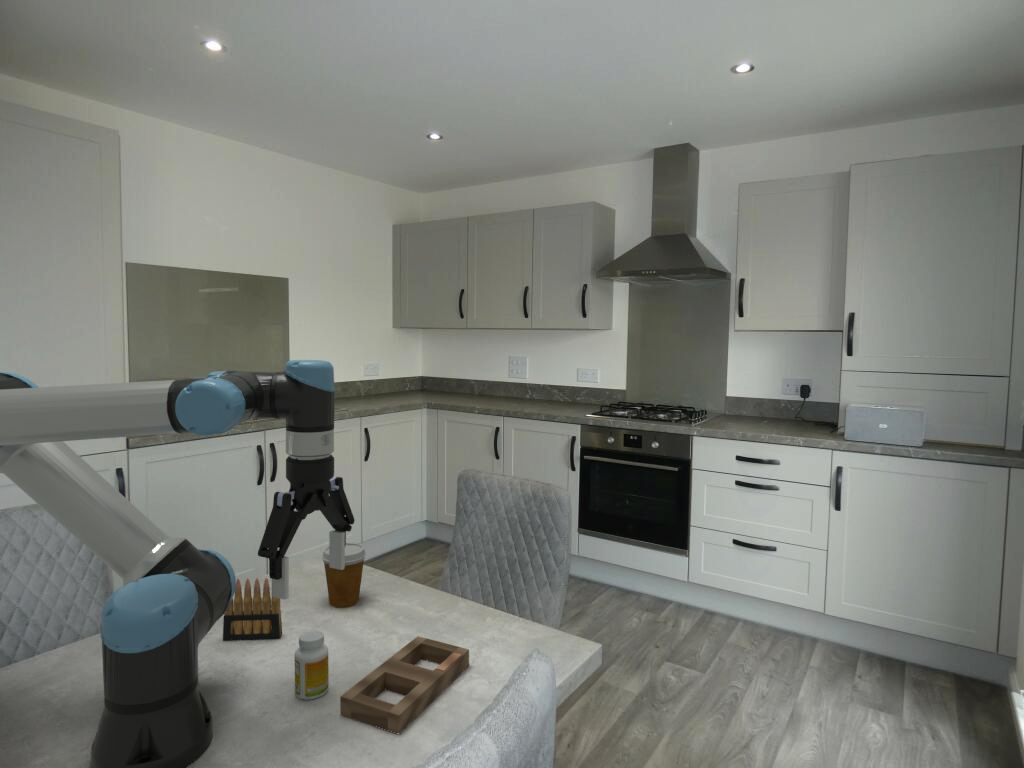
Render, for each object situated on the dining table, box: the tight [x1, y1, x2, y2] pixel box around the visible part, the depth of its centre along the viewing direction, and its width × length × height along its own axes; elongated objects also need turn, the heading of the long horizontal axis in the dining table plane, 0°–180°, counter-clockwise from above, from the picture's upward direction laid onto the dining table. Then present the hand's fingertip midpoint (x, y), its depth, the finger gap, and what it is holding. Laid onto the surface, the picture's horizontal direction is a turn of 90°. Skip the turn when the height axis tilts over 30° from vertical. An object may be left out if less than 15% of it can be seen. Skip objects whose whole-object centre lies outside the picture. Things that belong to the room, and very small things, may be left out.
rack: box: [339, 635, 470, 734], centre depth 106 cm, size 22×11×3 cm, turn 155°
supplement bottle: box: [293, 629, 330, 701], centre depth 105 cm, size 5×5×10 cm
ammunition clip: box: [222, 577, 283, 642], centre depth 122 cm, size 11×2×12 cm, turn 97°
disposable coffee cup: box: [321, 542, 367, 609], centre depth 139 cm, size 10×10×12 cm
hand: (310, 582), depth 104 cm, fingers open, 13 cm apart
